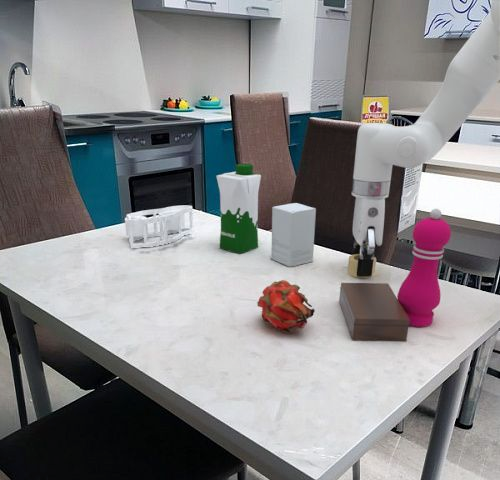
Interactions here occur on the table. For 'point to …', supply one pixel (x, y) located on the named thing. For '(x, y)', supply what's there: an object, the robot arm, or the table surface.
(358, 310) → the case
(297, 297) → the dragon fruit
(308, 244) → the white packaging box
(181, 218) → the clear plastic caddy
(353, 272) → the tape
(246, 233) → the milk carton
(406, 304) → the pepper mill
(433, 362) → the table surface
